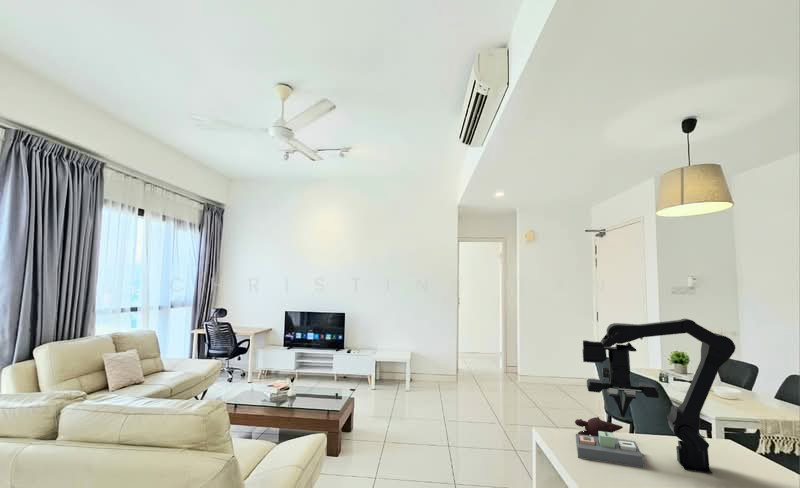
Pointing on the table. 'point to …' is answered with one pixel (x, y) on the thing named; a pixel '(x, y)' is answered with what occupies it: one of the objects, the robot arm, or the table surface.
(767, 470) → the table surface
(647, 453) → the table surface
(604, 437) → the key sage
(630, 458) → the keypad
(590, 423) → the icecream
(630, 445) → the key ivory
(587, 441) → the key coral
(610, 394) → the robot arm
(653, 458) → the table surface
